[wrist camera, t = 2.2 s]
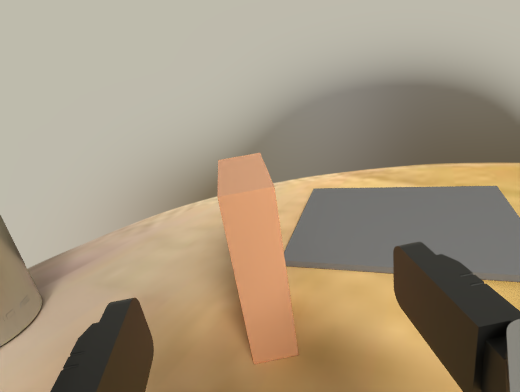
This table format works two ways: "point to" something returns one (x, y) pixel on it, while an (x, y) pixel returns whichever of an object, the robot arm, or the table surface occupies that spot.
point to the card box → (257, 256)
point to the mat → (408, 229)
